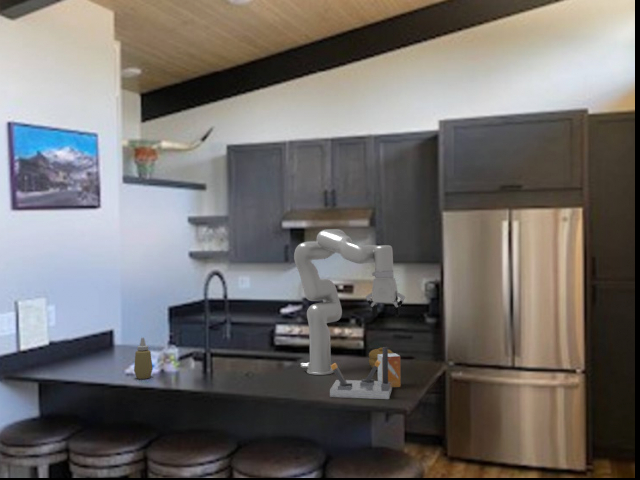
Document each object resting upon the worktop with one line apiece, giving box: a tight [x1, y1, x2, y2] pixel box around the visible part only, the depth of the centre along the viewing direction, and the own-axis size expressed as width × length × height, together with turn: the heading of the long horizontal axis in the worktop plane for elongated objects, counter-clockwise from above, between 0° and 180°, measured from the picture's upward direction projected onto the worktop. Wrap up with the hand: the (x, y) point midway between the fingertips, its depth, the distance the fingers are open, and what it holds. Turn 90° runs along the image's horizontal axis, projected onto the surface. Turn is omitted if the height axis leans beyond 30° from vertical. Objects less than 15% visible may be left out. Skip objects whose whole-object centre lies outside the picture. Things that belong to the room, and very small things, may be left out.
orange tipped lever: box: [331, 362, 347, 386], centre depth 259 cm, size 2×3×9 cm, turn 169°
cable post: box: [381, 346, 390, 390], centre depth 255 cm, size 3×3×16 cm
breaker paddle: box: [365, 360, 381, 382], centre depth 264 cm, size 2×3×9 cm, turn 170°
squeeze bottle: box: [133, 337, 153, 380], centre depth 294 cm, size 8×8×18 cm
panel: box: [329, 378, 393, 400], centre depth 262 cm, size 23×16×4 cm
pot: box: [368, 347, 394, 371], centre depth 305 cm, size 12×12×10 cm
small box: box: [377, 352, 402, 388], centre depth 273 cm, size 8×6×13 cm
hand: (386, 316), depth 272 cm, fingers open, 9 cm apart
